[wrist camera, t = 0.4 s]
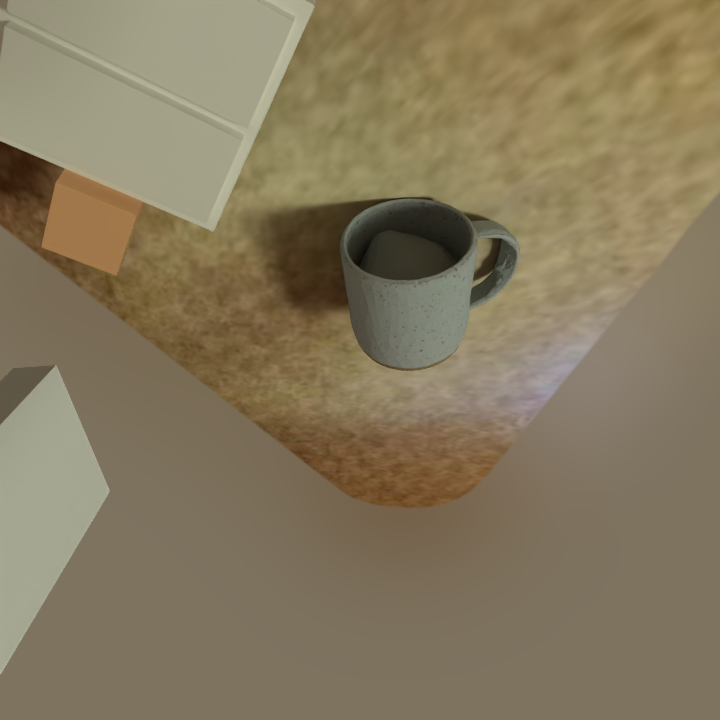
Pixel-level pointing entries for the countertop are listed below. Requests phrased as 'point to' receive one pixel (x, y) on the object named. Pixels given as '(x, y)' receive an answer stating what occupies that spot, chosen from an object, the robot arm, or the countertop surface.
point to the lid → (139, 106)
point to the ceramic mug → (417, 279)
